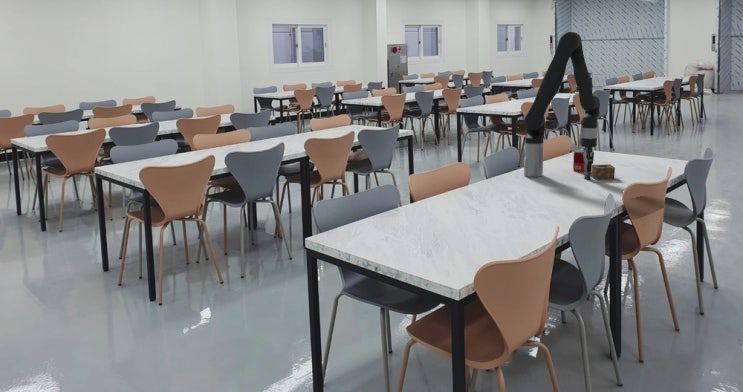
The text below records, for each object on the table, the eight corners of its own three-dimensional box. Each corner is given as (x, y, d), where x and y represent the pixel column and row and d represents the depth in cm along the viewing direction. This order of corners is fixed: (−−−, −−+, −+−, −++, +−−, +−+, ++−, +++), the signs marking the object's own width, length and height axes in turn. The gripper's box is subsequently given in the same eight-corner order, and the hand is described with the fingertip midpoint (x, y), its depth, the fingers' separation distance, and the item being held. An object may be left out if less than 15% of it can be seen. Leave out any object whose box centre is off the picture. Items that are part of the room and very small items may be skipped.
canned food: (590, 172, 341) (591, 151, 338) (575, 172, 341) (576, 152, 338) (586, 169, 348) (587, 149, 346) (571, 170, 348) (572, 149, 346)
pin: (584, 179, 323) (585, 156, 320) (583, 178, 326) (584, 155, 323) (591, 179, 323) (592, 155, 320) (589, 178, 325) (590, 154, 323)
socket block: (595, 179, 322) (596, 167, 320) (591, 176, 331) (592, 164, 329) (614, 179, 321) (614, 167, 319) (609, 175, 329) (610, 164, 328)
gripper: (578, 134, 327) (577, 168, 331) (584, 139, 313) (582, 173, 317) (593, 134, 326) (592, 167, 330) (600, 138, 312) (598, 173, 316)
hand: (587, 170), depth 323 cm, fingers open, 5 cm apart
